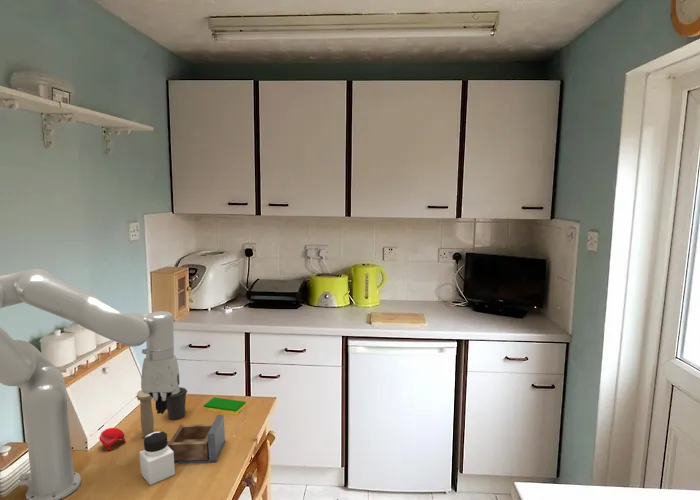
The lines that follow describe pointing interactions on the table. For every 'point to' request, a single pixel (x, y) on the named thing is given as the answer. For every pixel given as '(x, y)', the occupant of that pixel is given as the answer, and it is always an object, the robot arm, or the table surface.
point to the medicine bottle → (156, 458)
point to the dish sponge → (225, 406)
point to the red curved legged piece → (111, 437)
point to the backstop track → (212, 441)
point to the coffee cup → (177, 405)
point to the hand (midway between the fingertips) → (161, 411)
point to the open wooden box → (190, 442)
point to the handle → (146, 413)
